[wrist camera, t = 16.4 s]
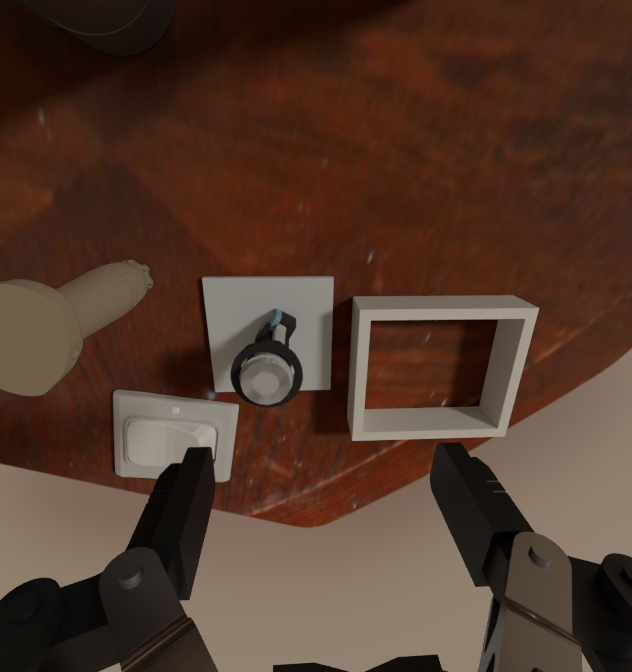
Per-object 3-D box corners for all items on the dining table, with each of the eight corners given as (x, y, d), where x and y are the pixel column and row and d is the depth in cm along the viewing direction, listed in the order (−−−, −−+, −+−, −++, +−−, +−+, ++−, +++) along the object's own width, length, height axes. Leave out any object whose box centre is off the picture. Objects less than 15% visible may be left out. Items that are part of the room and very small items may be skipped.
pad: (216, 389, 37) (215, 392, 37) (203, 276, 33) (201, 278, 32) (329, 386, 38) (330, 389, 37) (333, 276, 33) (333, 277, 33)
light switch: (227, 499, 40) (103, 494, 37) (231, 472, 43) (119, 465, 41) (237, 420, 36) (99, 408, 33) (240, 397, 39) (117, 385, 37)
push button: (278, 374, 36) (272, 438, 27) (230, 351, 35) (207, 410, 26) (311, 321, 34) (316, 370, 25) (261, 295, 33) (248, 337, 24)
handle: (172, 254, 32) (78, 307, 18) (154, 317, 34) (57, 406, 20) (117, 232, 31) (-28, 269, 17) (102, 297, 33) (-38, 378, 19)
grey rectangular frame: (346, 417, 40) (352, 440, 36) (352, 296, 34) (360, 309, 30) (485, 413, 40) (504, 436, 37) (513, 295, 35) (539, 308, 31)
